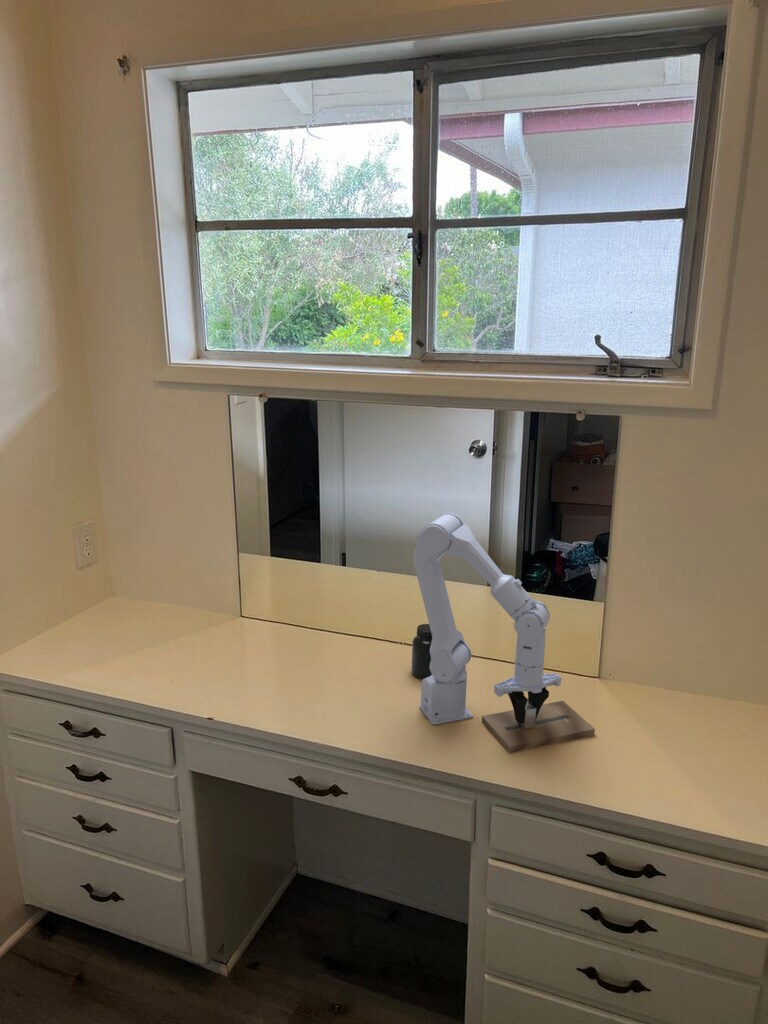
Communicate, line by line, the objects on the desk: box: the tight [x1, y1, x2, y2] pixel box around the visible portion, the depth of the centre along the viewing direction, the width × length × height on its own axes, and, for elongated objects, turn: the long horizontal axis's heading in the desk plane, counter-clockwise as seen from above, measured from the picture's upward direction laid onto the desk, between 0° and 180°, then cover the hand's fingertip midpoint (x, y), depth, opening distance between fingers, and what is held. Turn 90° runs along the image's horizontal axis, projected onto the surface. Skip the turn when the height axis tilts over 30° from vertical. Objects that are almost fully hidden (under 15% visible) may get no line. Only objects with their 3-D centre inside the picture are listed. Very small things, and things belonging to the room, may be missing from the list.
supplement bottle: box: [411, 623, 432, 680], centre depth 178 cm, size 7×7×12 cm
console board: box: [481, 700, 596, 754], centre depth 156 cm, size 20×12×2 cm, turn 110°
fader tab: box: [520, 701, 536, 729], centre depth 154 cm, size 2×4×4 cm, turn 19°
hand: (525, 720), depth 155 cm, fingers closed on fader tab, 2 cm apart
